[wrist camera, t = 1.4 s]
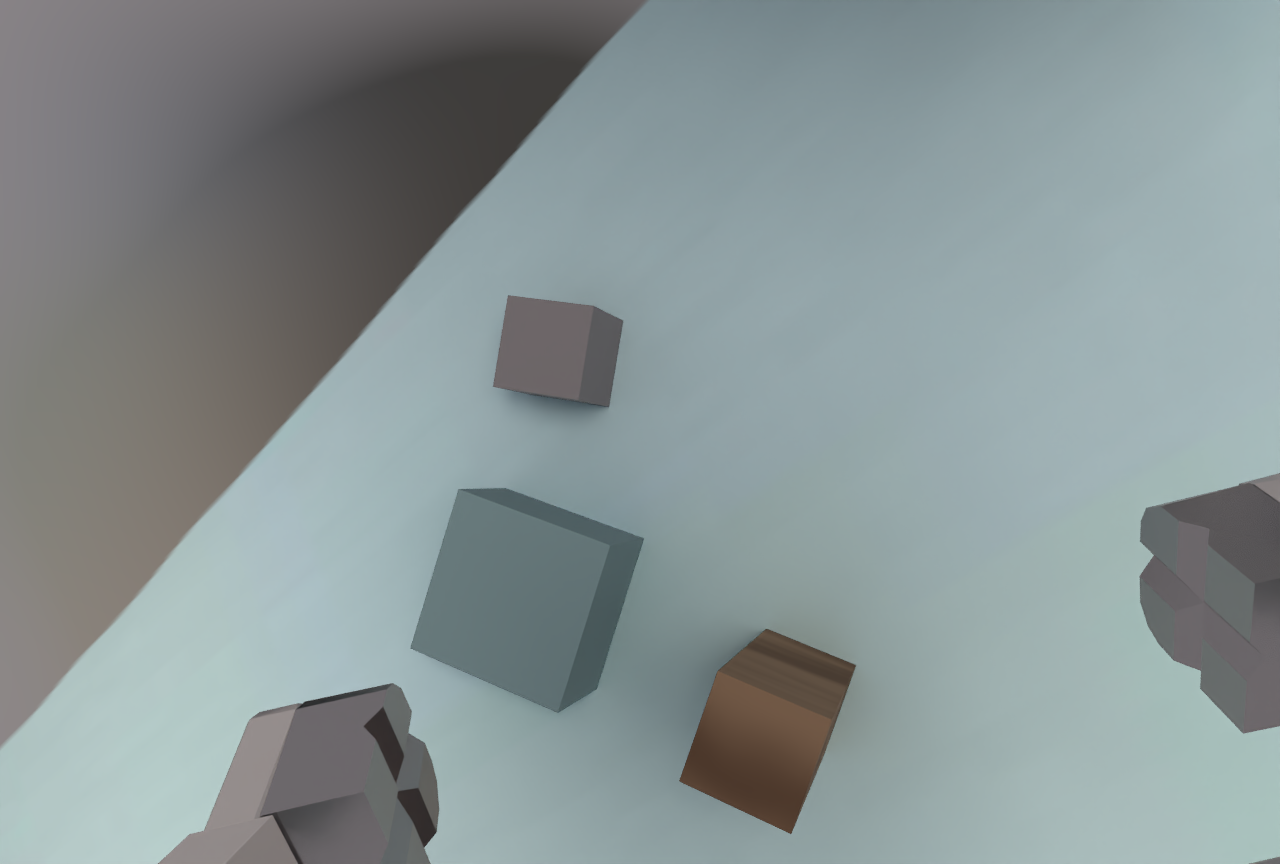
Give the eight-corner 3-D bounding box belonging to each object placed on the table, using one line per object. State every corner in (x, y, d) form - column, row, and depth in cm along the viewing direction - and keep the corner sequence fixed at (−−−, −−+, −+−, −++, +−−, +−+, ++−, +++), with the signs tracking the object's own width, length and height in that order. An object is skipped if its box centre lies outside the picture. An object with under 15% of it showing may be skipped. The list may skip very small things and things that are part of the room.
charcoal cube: (544, 310, 57) (507, 295, 52) (623, 321, 55) (593, 306, 50) (530, 394, 57) (493, 386, 52) (609, 406, 55) (578, 400, 50)
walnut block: (766, 628, 52) (717, 671, 40) (855, 665, 50) (831, 719, 39) (736, 714, 52) (679, 781, 41) (824, 753, 50) (790, 833, 39)
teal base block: (507, 488, 57) (458, 489, 51) (644, 538, 54) (610, 545, 48) (463, 631, 57) (410, 648, 52) (597, 688, 55) (558, 712, 49)
